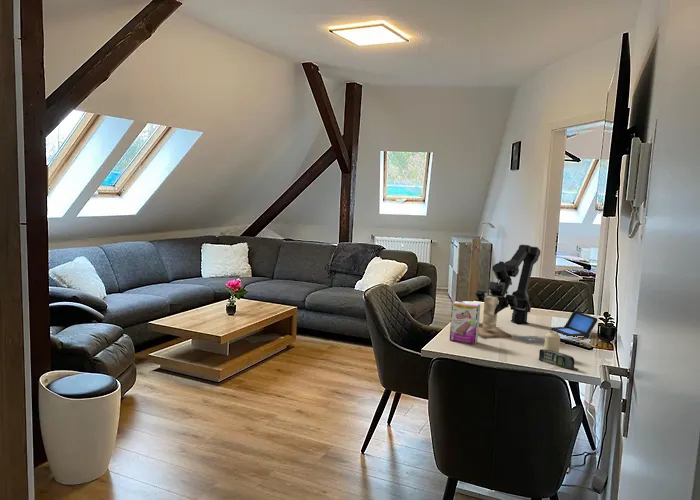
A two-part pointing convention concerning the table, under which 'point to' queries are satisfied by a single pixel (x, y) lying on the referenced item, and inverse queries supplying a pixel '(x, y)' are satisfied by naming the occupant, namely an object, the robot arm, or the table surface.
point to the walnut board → (492, 333)
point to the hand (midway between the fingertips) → (489, 312)
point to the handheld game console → (577, 325)
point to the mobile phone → (557, 359)
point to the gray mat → (530, 339)
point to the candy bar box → (464, 322)
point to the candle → (552, 341)
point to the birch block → (490, 312)
